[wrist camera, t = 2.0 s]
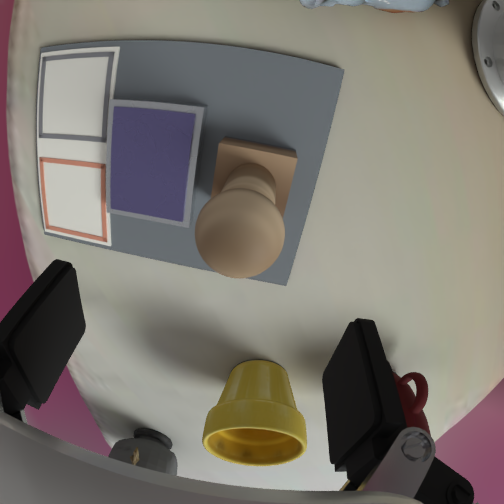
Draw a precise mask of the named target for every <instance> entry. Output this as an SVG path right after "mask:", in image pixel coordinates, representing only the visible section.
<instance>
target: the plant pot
mask: <svg viewBox="0 0 504 504" xmlns="http://www.w3.org/2000/svg"><path fill="white" fill-rule="evenodd" d="M202 442H203V446H204V447H205V449H206V450H207V451H208V452H209V453H211V454H212V455H214V456H216V457H218V458H220V459H222V460H225V461H228V462H232V463H236V464H241V465H248V466H272V465H279V464H284V463H287V462H290V461H293V460H295V459H297V458H299V457H300V456H302V455H303V454H304V452H305V451H306V448H307V435H306V424H305V419H304V417H303V415H302V414H301V413H300V412H299V411H298V410H297V408H296V404H295V401H294V397H293V393H292V390H291V386H290V382H289V379H288V375H287V372H286V371H285V370H284V369H283V368H282V367H281V366H280V365H278V364H276V363H273V362H270V361H265V360H251V361H246V362H243V363H240V364H239V365H237V366H236V367H235V368H234V369H233V370H232V371H231V374H230V376H229V378H228V381H227V383H226V385H225V388H224V390H223V392H222V395H221V397H220V399H219V401H218V404H217V405H216V406H215V407H213V408H212V409H211V410H210V411H209V413H208V415H207V418H206V422H205V427H204V432H203V438H202Z"/></svg>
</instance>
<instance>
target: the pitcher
mask: <svg viewBox="0 0 504 504" xmlns="http://www.w3.org/2000/svg"><path fill="white" fill-rule="evenodd" d="M171 448H172V442H171V440H170V439H169V438H168V437H167V436H165V435H163V434H161V433H159V432H156V431H153V430H150V429H144V428H141V429H137V430H135V431H134V438H130V439H123V440H119V441H118V442H116V443H115V445H114V446H113V448H112V450H111V452H110V454H109V458H112V459H115V460H118V461H122V462H125V463H128V464H132V465H135V466H139V467H142V468H146V469H150V470H154V471H158V472H162V473H166V474H170V475H175V476H176V475H177V459H176V456H175V454H174V453H173V452H171V451H170V449H171Z"/></svg>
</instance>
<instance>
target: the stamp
mask: <svg viewBox="0 0 504 504" xmlns="http://www.w3.org/2000/svg"><path fill="white" fill-rule="evenodd" d="M297 159H298V158H297V154H296V150H293V149H289V148H284V147H280V146H275V145H270V144H265V143H260V142H255V141H250V140H244V139H239V138H233V137H227V136H225V137H224V138H223V139H222V140H221V141H220V143H219V146H218V153H217V159H216V166H215V172H214V179H213V186H212V193H211V199H210V200H209V201H208V202H207V203H206V204H205V205H204V207H203V208H202V209H201V211H200V213H199V215H198V218H197V221H196V225H195V242H196V246H197V249H198V251H199V253H200V255H201V257H202V259H203V260H204V261H205V263H206V264H207V265H208V266H209V267H211V268H212V269H213V270H214V271H216V272H218V273H220V274H222V275H224V276H227V277H231V278H248V277H252V276H256V275H258V274H260V273H262V272H263V271H265V270H267V269H268V268H269V267H270V266H271V265H272V264H273V263H274V262H275V261H276V259H277V258H278V256H279V255H280V253H281V250H282V248H283V245H284V239H285V227H284V222H283V216H284V212H285V208H286V204H287V200H288V196H289V192H290V188H291V184H292V180H293V176H294V172H295V167H296V163H297Z"/></svg>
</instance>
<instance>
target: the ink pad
mask: <svg viewBox="0 0 504 504" xmlns="http://www.w3.org/2000/svg"><path fill="white" fill-rule="evenodd" d="M208 107H209V106H207V105H199V104H191V103H183V102H174V101H163V100H152V99H138V98H121V97H118V98H113V99H110V101H109V114H108V130H107V153H106V211H107V213H113V214H118V215H123V216H129V217H134V218H139V219H144V220H150V221H155V222H160V223H165V224H171V225H176V226H181V227H186V228H189V227H190V225H191V224H192V222H193V219H194V210H195V201H196V193H197V185H198V176H199V169H200V161H201V154H202V147H203V139H204V133H205V126H206V119H207V113H208Z"/></svg>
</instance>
